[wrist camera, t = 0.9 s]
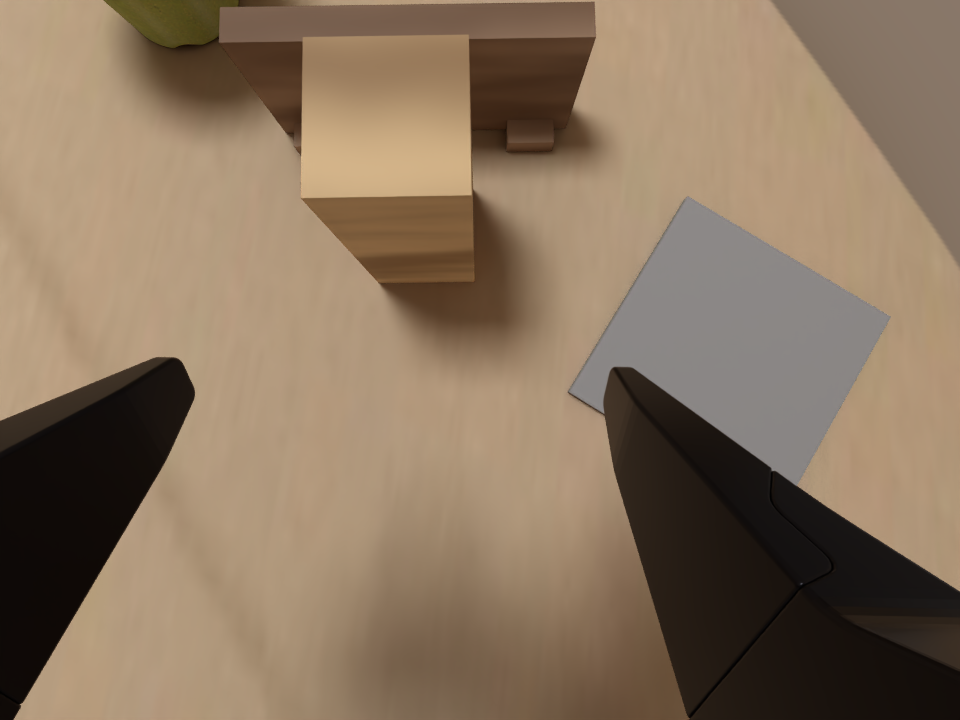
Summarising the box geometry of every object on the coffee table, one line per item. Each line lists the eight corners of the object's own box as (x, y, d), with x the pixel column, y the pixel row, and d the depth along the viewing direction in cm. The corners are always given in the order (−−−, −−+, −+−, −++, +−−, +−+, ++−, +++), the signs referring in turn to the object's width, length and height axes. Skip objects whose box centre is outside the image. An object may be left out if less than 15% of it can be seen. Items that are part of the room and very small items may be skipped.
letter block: (474, 281, 23) (471, 194, 13) (379, 283, 23) (301, 198, 13) (472, 186, 23) (468, 30, 13) (378, 188, 23) (302, 33, 13)
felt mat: (771, 518, 22) (777, 520, 21) (567, 391, 22) (569, 391, 22) (883, 317, 23) (890, 316, 22) (684, 199, 23) (687, 196, 23)
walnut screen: (566, 150, 23) (597, 66, 17) (285, 155, 23) (218, 72, 17) (564, 79, 23) (593, -28, 17) (286, 83, 23) (220, -22, 17)
